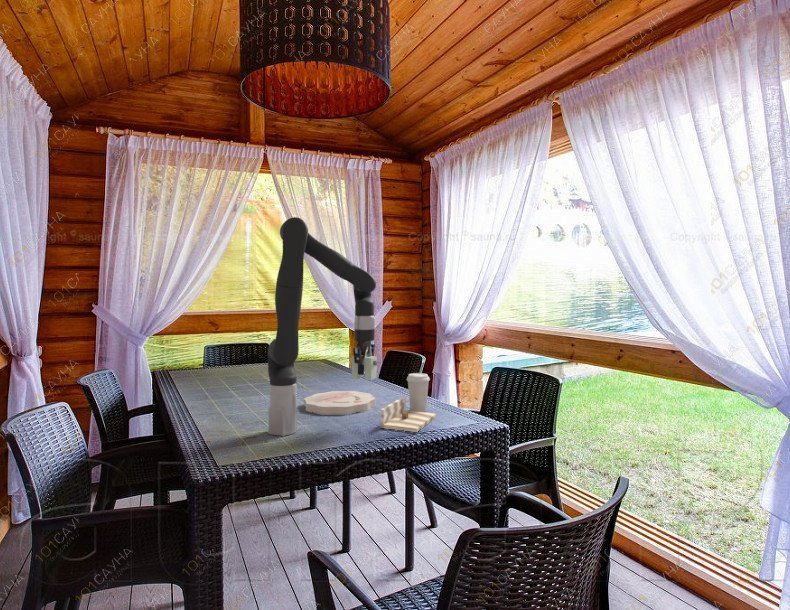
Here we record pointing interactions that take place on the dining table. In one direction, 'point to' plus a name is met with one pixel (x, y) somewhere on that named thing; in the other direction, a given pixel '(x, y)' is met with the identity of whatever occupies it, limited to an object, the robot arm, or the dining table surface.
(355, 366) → the block
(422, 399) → the coffee cup
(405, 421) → the cleat board
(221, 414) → the dining table surface
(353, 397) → the decorative plaque
